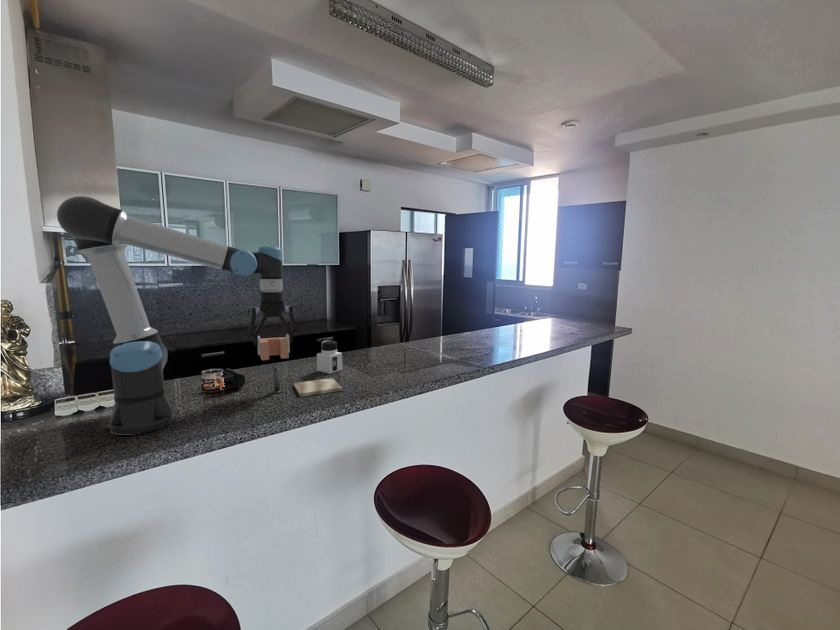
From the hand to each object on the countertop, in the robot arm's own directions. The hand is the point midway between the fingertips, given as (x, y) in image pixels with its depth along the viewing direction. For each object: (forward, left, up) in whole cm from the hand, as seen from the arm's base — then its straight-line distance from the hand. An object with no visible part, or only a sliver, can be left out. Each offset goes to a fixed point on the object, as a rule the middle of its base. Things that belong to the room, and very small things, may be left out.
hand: (273, 353), depth 140 cm
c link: (0, -1, -1) cm, 1 cm away
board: (+14, -4, -14) cm, 20 cm away
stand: (0, -2, -14) cm, 14 cm away
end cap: (-15, +10, -14) cm, 23 cm away
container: (+24, +18, -14) cm, 33 cm away
